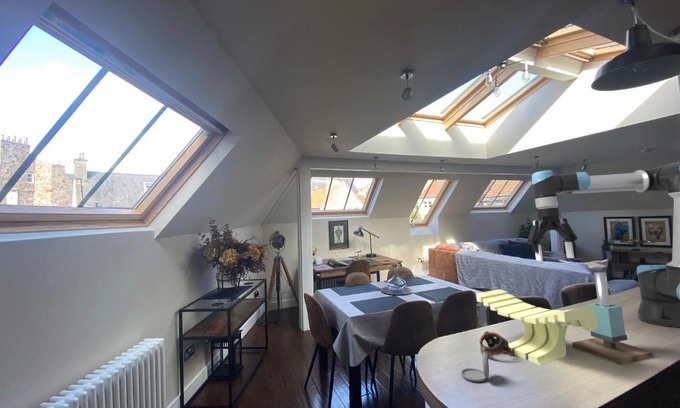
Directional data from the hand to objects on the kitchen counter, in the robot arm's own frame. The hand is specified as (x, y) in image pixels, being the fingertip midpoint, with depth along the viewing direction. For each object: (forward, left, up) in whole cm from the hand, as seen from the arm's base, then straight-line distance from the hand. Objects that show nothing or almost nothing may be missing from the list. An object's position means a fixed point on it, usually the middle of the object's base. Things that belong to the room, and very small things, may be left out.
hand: (555, 259), depth 117 cm
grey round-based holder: (+52, +28, -28) cm, 66 cm away
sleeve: (+2, +20, -22) cm, 30 cm away
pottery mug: (+38, +15, -28) cm, 50 cm away
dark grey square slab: (+2, +20, -24) cm, 31 cm away
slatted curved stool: (+25, +15, -28) cm, 41 cm away
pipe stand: (+2, +20, -28) cm, 35 cm away
